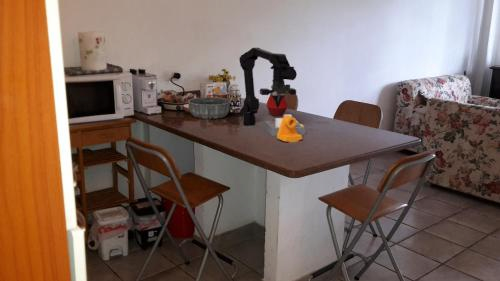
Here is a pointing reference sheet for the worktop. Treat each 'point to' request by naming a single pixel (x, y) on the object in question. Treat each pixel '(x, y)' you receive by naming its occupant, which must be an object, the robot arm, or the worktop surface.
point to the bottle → (276, 111)
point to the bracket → (288, 130)
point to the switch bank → (274, 130)
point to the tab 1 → (278, 122)
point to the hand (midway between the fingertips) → (277, 107)
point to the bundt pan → (209, 107)
